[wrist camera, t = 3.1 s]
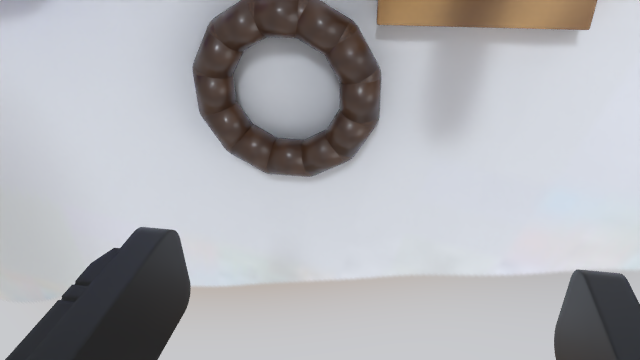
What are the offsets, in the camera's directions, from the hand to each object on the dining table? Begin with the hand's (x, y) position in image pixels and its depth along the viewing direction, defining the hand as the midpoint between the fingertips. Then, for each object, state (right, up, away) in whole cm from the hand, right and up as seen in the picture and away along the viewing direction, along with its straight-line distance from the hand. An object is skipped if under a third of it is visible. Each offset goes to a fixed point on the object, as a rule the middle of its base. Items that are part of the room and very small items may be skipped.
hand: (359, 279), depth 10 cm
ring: (-3, +7, +15) cm, 16 cm away
